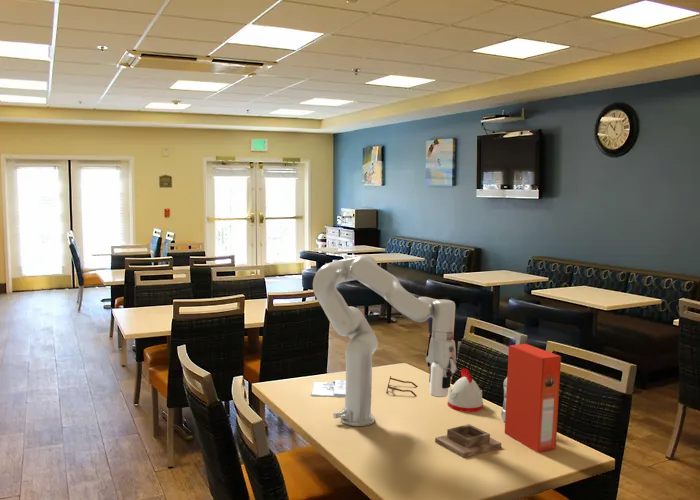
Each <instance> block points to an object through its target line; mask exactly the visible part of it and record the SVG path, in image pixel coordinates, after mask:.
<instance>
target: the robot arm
mask: <svg viewBox="0 0 700 500" xmlns="http://www.w3.org/2000/svg"><path fill="white" fill-rule="evenodd" d="M350 281H351V282H352V281H358V282H360V284H362V285H364V286H365V287H367V288H369V289H370V290H372V291H373V292H375V293H376V294H378V295H379V296H380V297H382V298H383V299H384V300H385V301H386V302H387V303H389V305H390V306H392V307H393V308H394V309H395V310H397V311H398V312H399V313H400V314H402V315H404V316H406V317H407V318H409V319H411V320H412V321H413V322H416V323H417V322H418V323H424V322H426V321H427V320H428V319H429V318H432V324H431V325H432V327H431V338H430V341H429V345H428V352H427V353H428V355H427V356H426V357H425V361H426V364H427V367H428V371H429V383H430V378H431V365H432V363H433V361H434V362H435V363H439V365H440V367H441V368H442V369H443V373H444V377H443V382H442V388H448V389H450V388H451V381H452V379H451V378H452V377H453V375H454V374H455V373H456V372H458V367H457V364H456V363H457V361H456V360H457V355H456V354H457V351H456V341H455V340H454V338H455V336H454V333H455V332H454V331H455V318H456V316H455V315H456V303H455V301H453V300H450V299H444V298H443V299H436V298H432V297H428V296H419V297H416V296H415V295H414V294H412V293H410V292H409V291H408V290H407V289H405V288H404V287H403V285H402V284H401V283H400V281H399V279H398V278H397V277H396V276H395V275H393V274H392V273H390V272H389V271H387V270H386V269H384V268H382V267H381V266H379V265H378V262H377V260H376V259H375V258H374V257H373V256H371V255H366V254H365V255H360V256H356V257H350V258H346V259H339V260H335V261H332V262H328V263H326V264H324V265H322V266H321V267H320V268H318V270H317V271H316V273H315V275H314V277H313V279H312V289H313V294H314V296H315V298H316V299H317V302H318V304H319V305H320V306H321V308H322V310H323V312H324V314H325V316H326V317H327V319H328V321H329V322H330V323H331V326H332V328H333V330H334V331H335V332H336V333H337V334H338V336H342V337H348V338H349V341H348V342H347V344H346V347H345V350H344V353H345V354H344V356H345V381H346V394H345V397H344V402H345V403H344V407H342V410H341V411H340V412H339V411H338V412H333V414H332V415H333V419H340V422H342V423H343V424H345V425H348V426H351V427H366V426H369V425H372V424H373V423H375V416H374V415H373V414H371V413H372V410H371V409H372V388H373V387H372V385H373V384H372V383H373V365H372V364H373V363H372V357H373V355H374V353H376V351H377V349H378V348H379V347H378V346H379V342H378V338H377V336H376V334H375V332H374V330H373V329H372V327H371V325H370V324H369V322H368V320H367V318H366V317H365V315H364V313H363V312H362V311H361V310H360V309H359V308H357V307H355V306H349V305H348V303H347V302H346V300H345V299H344V297H343V295H342V294H341V293H340V291H338V289H337V285H339V284H342V283H346V282H350ZM447 366H448V368H447ZM446 370H448V373H447V371H446Z"/></svg>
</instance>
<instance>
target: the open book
mask: <svg viewBox="0 0 700 500" xmlns="http://www.w3.org/2000/svg"><path fill="white" fill-rule="evenodd" d="M332 389H334V390H332ZM345 394H346V379H344V380H343V379H335V380H334V381H333V382H320V381H314V382H313V388H312V392H311V393H310V397H329V398H330V397H331V398H345Z"/></svg>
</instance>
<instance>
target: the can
mask: <svg viewBox="0 0 700 500" xmlns="http://www.w3.org/2000/svg"><path fill="white" fill-rule="evenodd" d="M447 368H448V366H447ZM446 371H447V373H448V370H446ZM443 377H444V373H443V369H442V368H441V367H440V365H439V363H435V362H434V361H433V363H432V365H431V378H430V382H429V394H430V395H431V396H432V397H435V398H446V397H448V396H449V388H442V382H443Z"/></svg>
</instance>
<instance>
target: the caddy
mask: <svg viewBox="0 0 700 500" xmlns="http://www.w3.org/2000/svg"><path fill="white" fill-rule="evenodd" d="M446 431H447V433H446V434H445V435H441V436H438V437H435V439H434V443H436V444H438V445H440V446H442V447H443V448H445V449H447V450H449V451H451V452H453V453H454V454H455V455H458V456H460V457H461V458H469V457H470V456H475V455H478V454H482V453H485V452H489V451H493V450H496V449H500V448H502V442H501V441H499V440H497V439H494V438H492V437H491V434H490V433H488V432H486V431H485V430H482V429H481V428H478V427H476V426H474V425H472V424H464V425H461V426H456V427H452V428H451V427H450V428H448V429H446Z"/></svg>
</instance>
